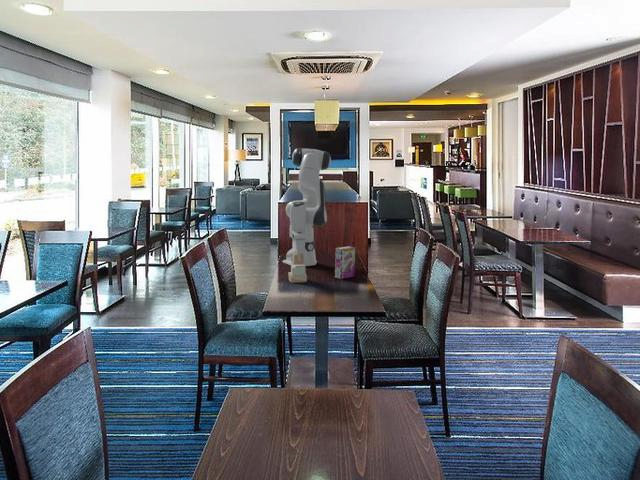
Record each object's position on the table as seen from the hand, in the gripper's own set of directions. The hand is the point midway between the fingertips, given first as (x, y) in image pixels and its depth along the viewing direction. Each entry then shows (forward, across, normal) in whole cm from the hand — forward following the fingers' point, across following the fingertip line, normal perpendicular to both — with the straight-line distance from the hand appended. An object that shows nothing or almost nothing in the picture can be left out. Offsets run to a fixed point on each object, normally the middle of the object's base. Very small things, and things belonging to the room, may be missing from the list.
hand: (298, 259), depth 294 cm
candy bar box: (+11, -3, +26) cm, 28 cm away
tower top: (+7, 0, 0) cm, 7 cm away
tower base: (+11, 0, 0) cm, 11 cm away
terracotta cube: (+2, 0, 0) cm, 2 cm away
